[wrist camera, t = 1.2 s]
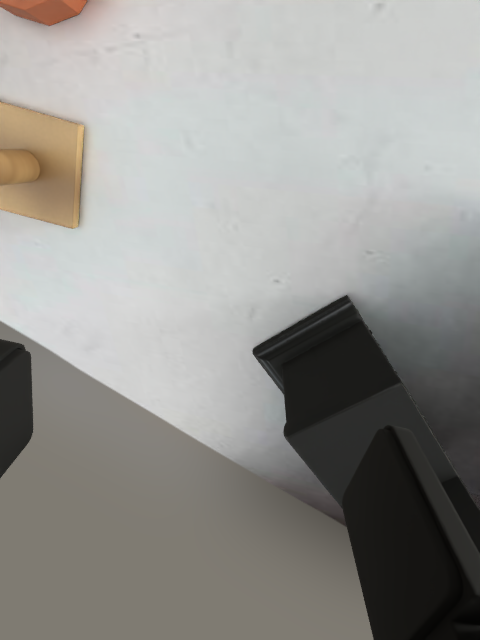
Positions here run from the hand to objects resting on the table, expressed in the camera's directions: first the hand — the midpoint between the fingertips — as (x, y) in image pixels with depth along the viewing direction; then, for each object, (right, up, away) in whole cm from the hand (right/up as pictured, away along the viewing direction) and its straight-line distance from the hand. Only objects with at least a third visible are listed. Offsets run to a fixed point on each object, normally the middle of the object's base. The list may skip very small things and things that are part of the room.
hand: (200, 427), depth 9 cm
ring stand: (-16, +15, +19) cm, 29 cm away
